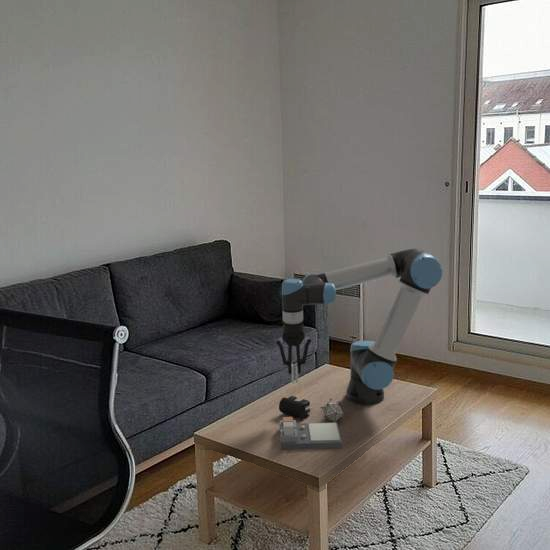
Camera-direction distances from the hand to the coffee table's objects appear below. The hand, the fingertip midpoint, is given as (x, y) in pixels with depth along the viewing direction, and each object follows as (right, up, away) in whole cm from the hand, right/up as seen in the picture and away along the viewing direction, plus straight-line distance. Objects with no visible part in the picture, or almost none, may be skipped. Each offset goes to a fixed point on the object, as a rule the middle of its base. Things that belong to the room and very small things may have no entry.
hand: (294, 381), depth 248 cm
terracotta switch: (-3, -15, -11) cm, 19 cm away
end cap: (0, -14, +4) cm, 15 cm away
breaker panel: (+5, -18, -14) cm, 23 cm away
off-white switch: (-3, -15, -18) cm, 24 cm away
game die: (+14, -15, -1) cm, 20 cm away
